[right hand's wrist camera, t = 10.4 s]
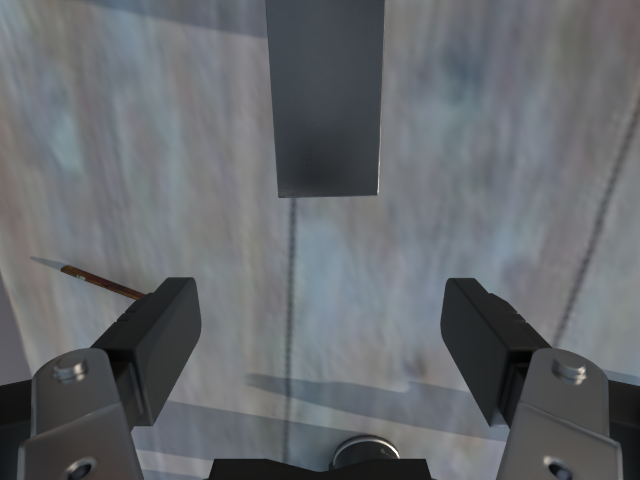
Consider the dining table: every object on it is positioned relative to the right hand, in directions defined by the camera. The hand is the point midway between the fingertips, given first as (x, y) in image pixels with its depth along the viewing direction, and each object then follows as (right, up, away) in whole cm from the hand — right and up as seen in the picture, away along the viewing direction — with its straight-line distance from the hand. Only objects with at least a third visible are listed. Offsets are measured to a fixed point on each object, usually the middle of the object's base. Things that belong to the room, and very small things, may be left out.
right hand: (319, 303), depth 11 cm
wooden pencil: (-21, -4, +29) cm, 36 cm away
